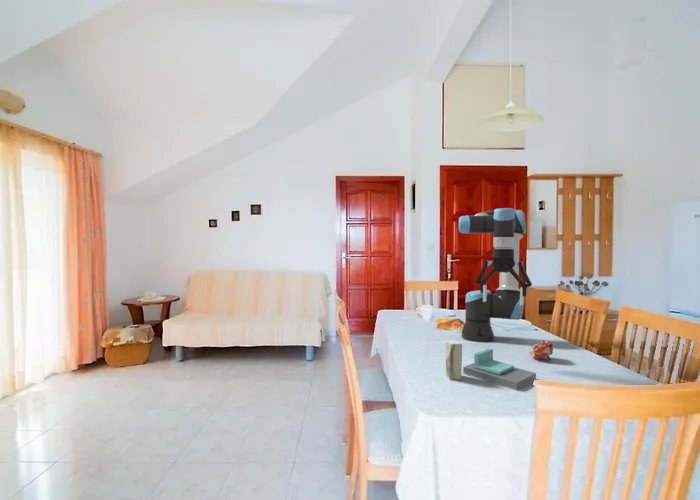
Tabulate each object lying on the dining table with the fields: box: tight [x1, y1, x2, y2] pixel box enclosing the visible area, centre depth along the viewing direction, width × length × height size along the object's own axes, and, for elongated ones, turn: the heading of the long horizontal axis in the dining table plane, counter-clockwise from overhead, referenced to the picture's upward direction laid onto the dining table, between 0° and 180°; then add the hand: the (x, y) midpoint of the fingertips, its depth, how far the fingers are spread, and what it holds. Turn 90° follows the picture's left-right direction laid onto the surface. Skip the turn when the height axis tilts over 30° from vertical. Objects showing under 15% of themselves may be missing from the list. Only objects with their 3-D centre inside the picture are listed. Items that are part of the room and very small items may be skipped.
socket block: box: [462, 362, 537, 391], centre depth 139 cm, size 20×14×2 cm
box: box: [445, 339, 463, 381], centre depth 138 cm, size 5×4×13 cm
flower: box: [528, 340, 554, 362], centre depth 158 cm, size 10×9×8 cm
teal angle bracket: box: [473, 348, 515, 375], centre depth 141 cm, size 10×10×5 cm
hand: (502, 303), depth 151 cm, fingers open, 13 cm apart
